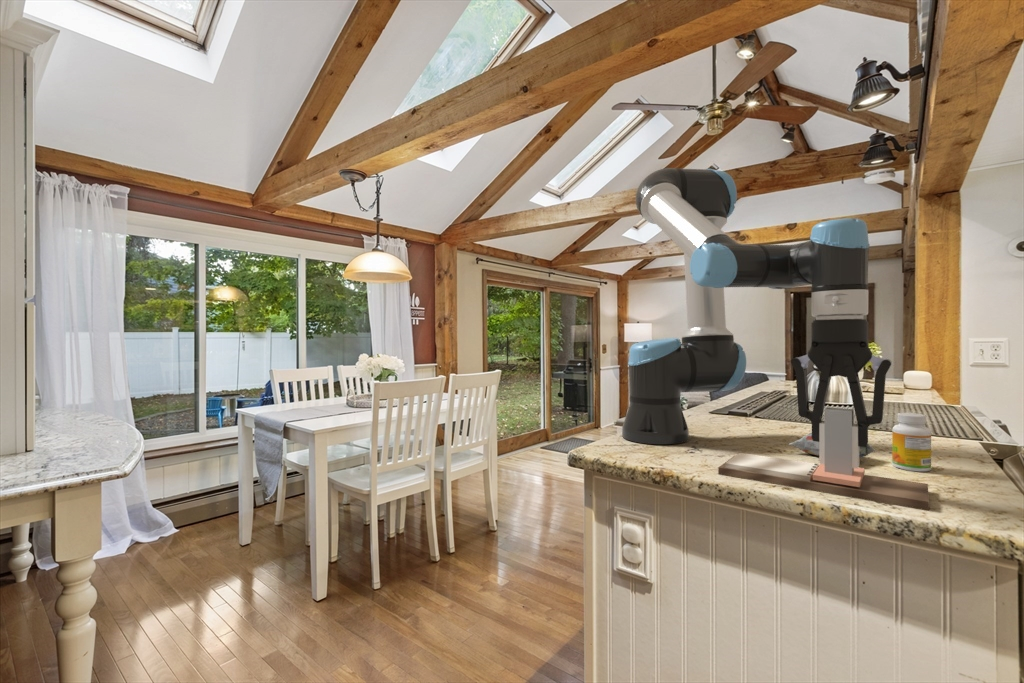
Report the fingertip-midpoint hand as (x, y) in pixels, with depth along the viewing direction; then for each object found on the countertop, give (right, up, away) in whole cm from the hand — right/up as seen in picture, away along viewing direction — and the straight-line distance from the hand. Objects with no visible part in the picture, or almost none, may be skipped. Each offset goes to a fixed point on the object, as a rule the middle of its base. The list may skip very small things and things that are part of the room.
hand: (839, 463), depth 77 cm
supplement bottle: (+20, -3, +9) cm, 22 cm away
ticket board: (-2, -4, +2) cm, 5 cm away
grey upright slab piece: (0, -2, 0) cm, 2 cm away
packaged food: (+10, -3, +17) cm, 21 cm away
